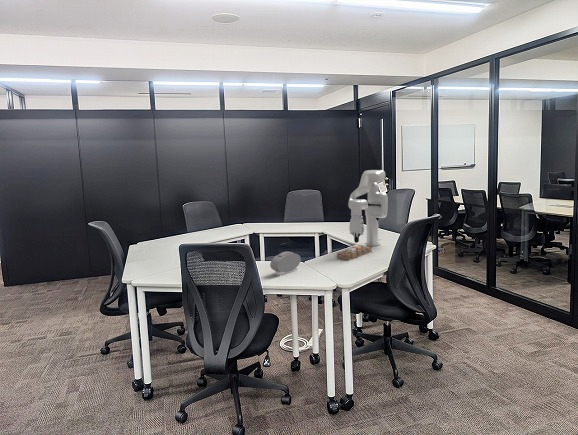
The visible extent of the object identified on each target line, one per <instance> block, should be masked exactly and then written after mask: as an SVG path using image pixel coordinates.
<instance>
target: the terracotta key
mask: <svg viewBox="0 0 578 435" xmlns="http://www.w3.org/2000/svg"><path fill="white" fill-rule="evenodd" d="M351 248H356V250H360V249H362V246H358V245H353V246H352V247H351Z"/></svg>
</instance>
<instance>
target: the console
mask: <svg viewBox="0 0 578 435" xmlns="http://www.w3.org/2000/svg"><path fill="white" fill-rule="evenodd" d="M372 247H373V246H367V247H365V248H362V249H360V250H356V251H354V252H347V251H346V249H345V250H342V251H339V252H337V253H336V258H337V260H345V261H351V260H354V259H356V258H359V257H362V256H365V255H368V254H370V253H371V252H372Z"/></svg>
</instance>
